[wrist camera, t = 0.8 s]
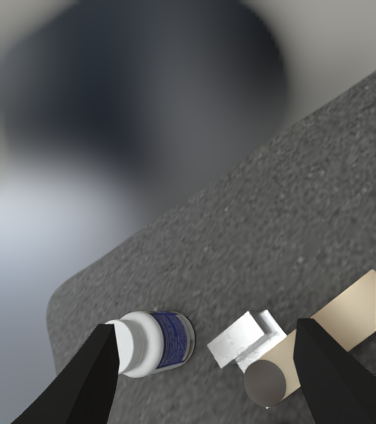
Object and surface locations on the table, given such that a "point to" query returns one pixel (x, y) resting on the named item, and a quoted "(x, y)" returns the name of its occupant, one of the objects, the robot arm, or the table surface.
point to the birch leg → (333, 323)
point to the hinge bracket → (246, 339)
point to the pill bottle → (153, 342)
